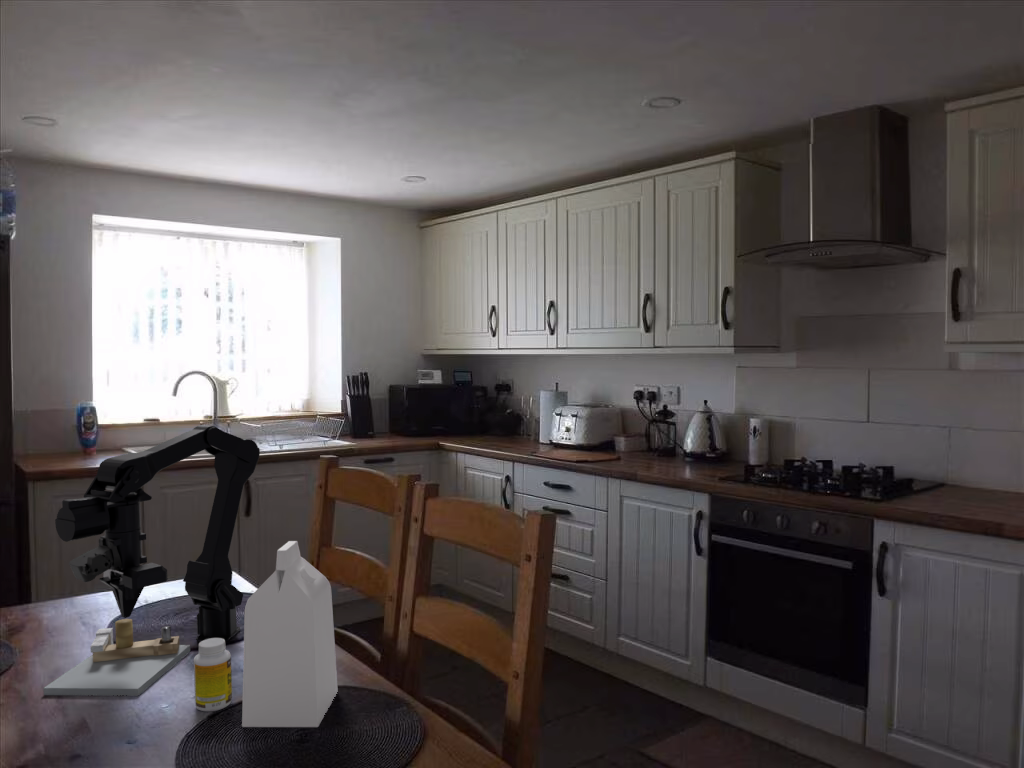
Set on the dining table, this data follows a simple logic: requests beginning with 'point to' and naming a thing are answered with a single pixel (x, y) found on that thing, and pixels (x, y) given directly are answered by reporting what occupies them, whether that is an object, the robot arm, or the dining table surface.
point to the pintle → (166, 634)
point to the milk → (289, 646)
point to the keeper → (102, 639)
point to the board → (114, 675)
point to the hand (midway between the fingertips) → (126, 617)
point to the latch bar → (134, 645)
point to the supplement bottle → (212, 675)
